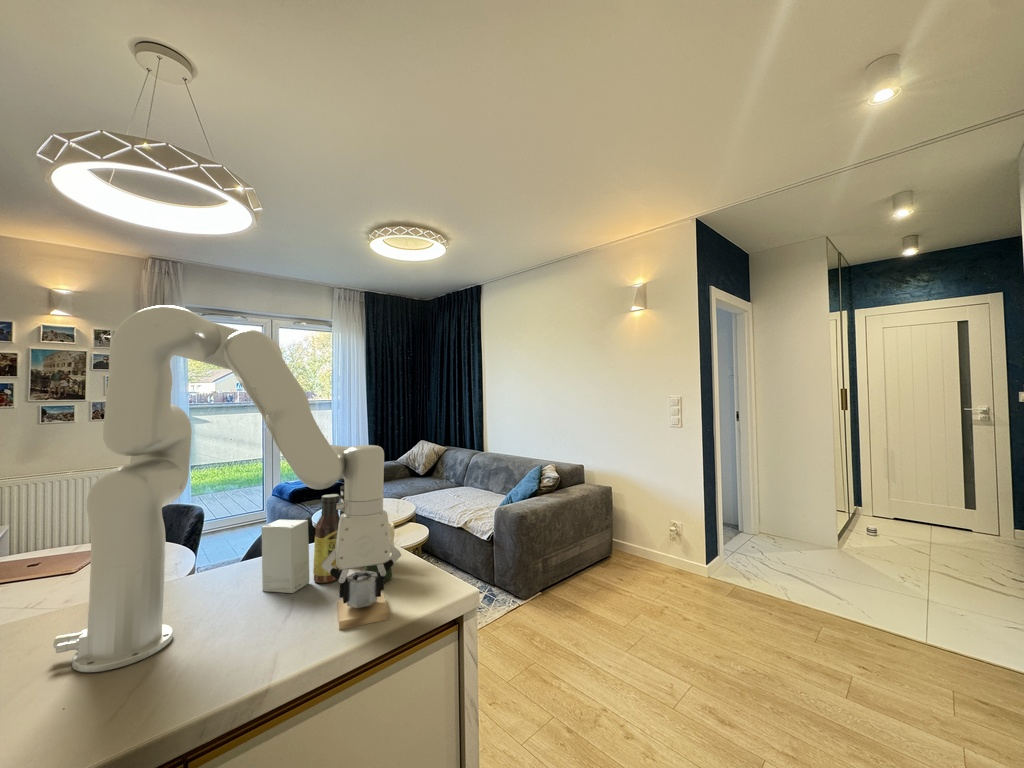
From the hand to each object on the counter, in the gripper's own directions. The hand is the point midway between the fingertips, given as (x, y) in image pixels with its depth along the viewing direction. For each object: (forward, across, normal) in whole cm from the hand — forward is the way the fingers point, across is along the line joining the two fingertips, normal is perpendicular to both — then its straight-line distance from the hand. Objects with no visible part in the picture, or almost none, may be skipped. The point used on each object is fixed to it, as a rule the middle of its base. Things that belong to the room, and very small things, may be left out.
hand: (361, 596), depth 83 cm
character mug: (+4, +5, +15) cm, 16 cm away
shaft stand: (+3, 0, 0) cm, 3 cm away
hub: (+1, 0, 0) cm, 1 cm away
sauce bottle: (+4, -6, +21) cm, 22 cm away
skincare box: (+4, -15, +20) cm, 25 cm away
